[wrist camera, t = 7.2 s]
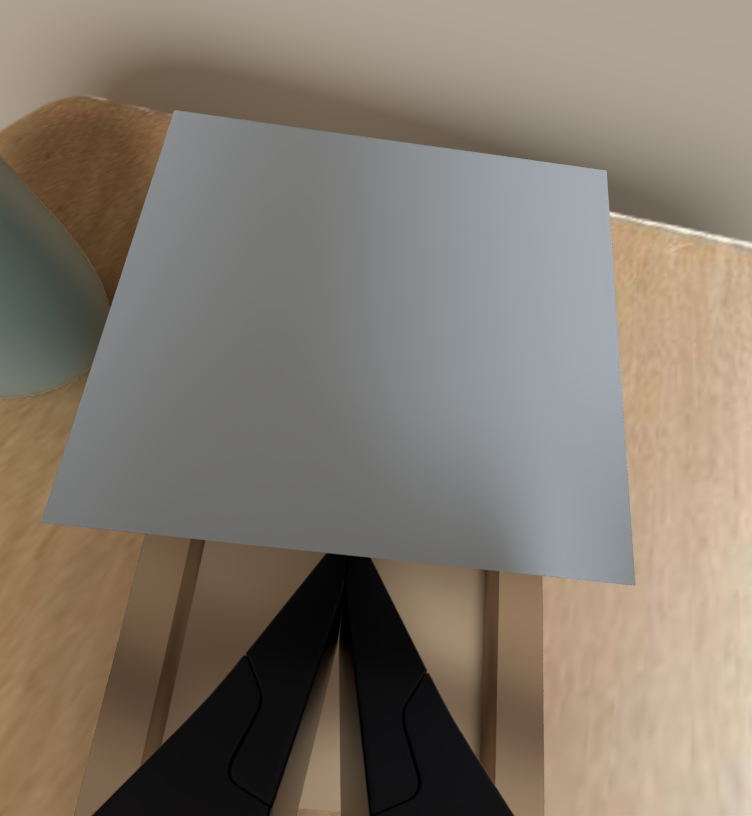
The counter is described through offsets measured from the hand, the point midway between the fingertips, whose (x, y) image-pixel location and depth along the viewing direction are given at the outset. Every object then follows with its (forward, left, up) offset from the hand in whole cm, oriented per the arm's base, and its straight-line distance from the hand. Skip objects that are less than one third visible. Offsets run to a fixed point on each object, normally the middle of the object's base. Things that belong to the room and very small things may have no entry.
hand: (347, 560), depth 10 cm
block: (+4, +2, -7) cm, 9 cm away
